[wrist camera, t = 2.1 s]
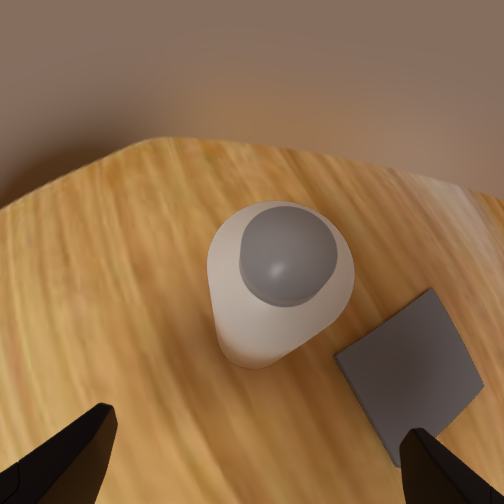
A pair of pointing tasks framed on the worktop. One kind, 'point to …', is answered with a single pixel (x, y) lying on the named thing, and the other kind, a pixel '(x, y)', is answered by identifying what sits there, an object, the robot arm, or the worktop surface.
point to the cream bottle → (276, 280)
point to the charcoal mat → (411, 372)
